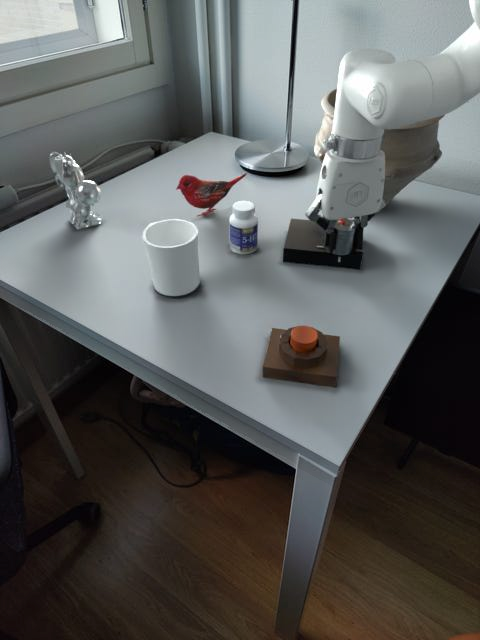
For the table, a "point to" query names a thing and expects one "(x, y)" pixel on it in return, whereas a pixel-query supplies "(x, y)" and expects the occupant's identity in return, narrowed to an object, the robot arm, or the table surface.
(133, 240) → the table surface
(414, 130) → the planter
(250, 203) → the pill bottle
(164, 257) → the mug
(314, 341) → the button
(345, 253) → the hob knob
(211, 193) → the decorative bird figurine
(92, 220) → the chrome statue
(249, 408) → the table surface
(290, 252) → the panel
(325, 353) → the button block
